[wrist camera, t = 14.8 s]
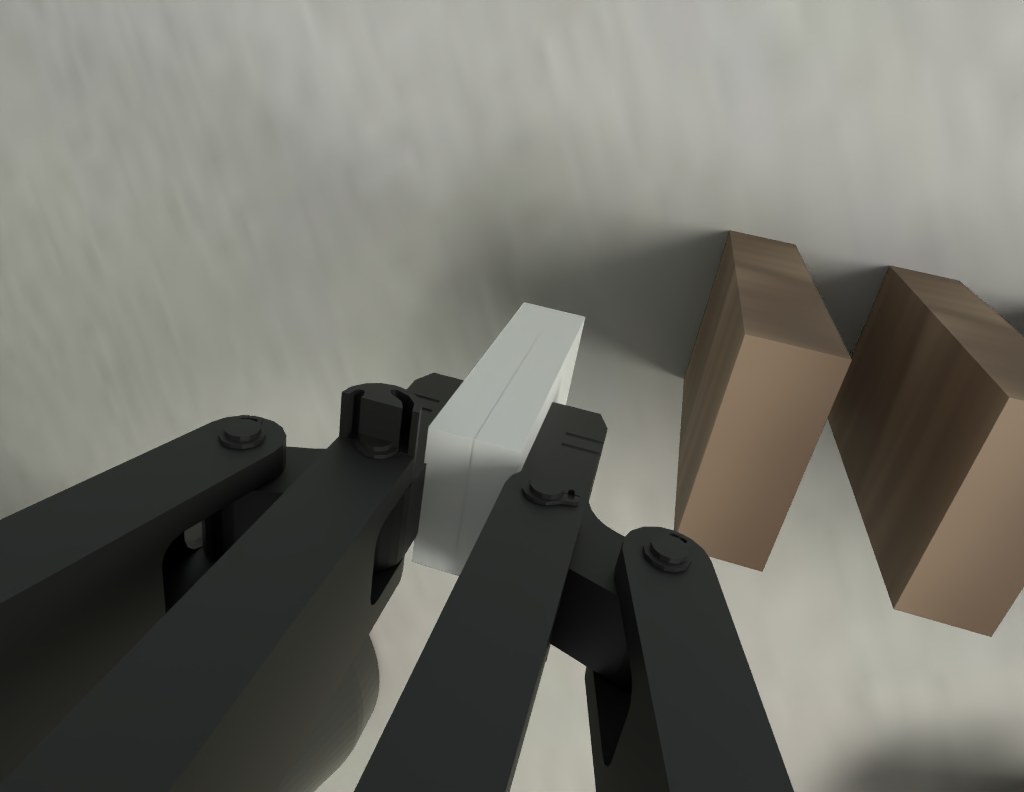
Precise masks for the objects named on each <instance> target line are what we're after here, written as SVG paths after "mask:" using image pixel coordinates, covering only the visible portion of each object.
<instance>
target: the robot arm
mask: <svg viewBox="0 0 1024 792" xmlns="http://www.w3.org/2000/svg"><path fill="white" fill-rule="evenodd" d="M584 321H585V317H584V316H580V315H575V314H571V313H567V312H563V311H559V310H555V309H550V308H546V307H542V306H538V305H534V304H530V303H525V302H524V303H523V304H522V305H521V307H520V308H519V309H518V311H517V312H516V313H515V314H514V316H513V317H512V318H511V320H510V321H509V322H508V324H507V325H506V326H505V328H504V329H503V330H502V331H501V333H500V334H499V335H498V337H497V338H496V339H495V341H494V342H493V343H492V345H491V346H490V347H489V348H488V350H487V351H486V352H485V354H484V355H483V356H482V358H481V359H480V360H479V362H478V363H477V364H476V365H475V367H474V368H473V369H472V371H471V372H470V373H469V375H468V376H467V377H466V379H465V380H464V381H463V380H460V379H456V378H452V377H448V376H444V375H440V374H437V373H432V374H429V375H427V376H424V377H422V378H419V379H417V380H415V381H414V382H413V383H412V384H411V385H410V386H409V388H408V389H407V390H406V389H404V388H401V387H398V386H395V385H389V384H383V383H365V384H361V385H356V386H352V387H350V388H348V389H346V390H345V391H343V392H342V398H341V415H340V432H339V437H338V438H337V439H336V440H335V441H334V442H333V443H332V444H331V445H330V446H329V447H328V448H327V449H311V448H298V447H286V434H285V432H284V430H283V428H282V427H281V426H279V425H278V424H277V423H275V422H274V421H271V420H268V419H265V418H261V417H257V416H250V415H240V416H234V417H226V418H223V419H220V420H217V421H213V422H211V423H209V424H207V425H204V426H202V427H200V428H198V429H196V430H194V431H191V432H189V433H187V434H185V435H183V436H181V437H179V438H176V439H174V440H172V441H170V442H168V443H166V444H163V445H161V446H159V447H157V448H155V449H153V450H150V451H148V452H146V453H144V454H142V455H140V456H137V457H135V458H133V459H131V460H129V461H127V462H124V463H122V464H120V465H118V466H116V467H114V468H111V469H109V470H107V471H105V472H103V473H101V474H98V475H96V476H94V477H92V478H90V479H88V480H85V481H83V482H81V483H79V484H77V485H75V486H73V487H70V488H68V489H66V490H64V491H62V492H60V493H57V494H55V495H53V496H51V497H49V498H47V499H44V500H42V501H40V502H38V503H36V504H34V505H31V506H29V507H27V508H25V509H23V510H21V511H18V512H16V513H14V514H12V515H10V516H8V517H5V518H3V519H1V520H0V792H314V791H315V790H316V789H317V788H318V787H319V786H320V785H321V784H322V783H323V782H324V781H325V780H326V779H327V778H328V777H330V776H331V775H332V774H333V773H334V772H335V771H336V770H337V769H338V768H339V767H340V766H341V765H342V764H343V762H344V761H345V760H346V759H347V757H348V756H349V754H350V753H351V752H352V750H353V749H354V747H355V745H356V743H357V741H358V739H359V738H360V736H361V734H362V732H363V730H364V728H365V726H366V724H367V722H368V720H369V718H370V716H371V714H372V712H373V710H374V707H375V705H376V701H377V697H378V692H379V669H378V662H377V658H376V654H375V650H374V647H373V644H372V641H371V639H370V636H369V633H370V631H371V630H372V628H373V626H374V624H375V623H376V621H377V619H378V618H379V616H380V614H381V613H382V611H383V609H384V607H385V606H386V604H387V602H388V601H389V599H390V597H391V596H392V594H393V592H394V590H395V589H396V587H397V585H398V584H399V582H400V579H401V576H402V572H403V565H404V556H405V553H406V552H407V550H408V549H409V547H410V545H411V544H412V542H413V540H414V539H415V540H414V548H413V556H412V562H415V563H418V564H421V565H425V566H428V567H431V568H435V569H438V570H441V571H445V572H448V573H451V574H454V575H458V576H459V578H458V580H457V582H456V584H455V586H454V588H453V590H452V592H451V594H450V596H449V598H448V600H447V602H446V604H445V606H444V608H443V610H442V612H441V615H440V617H439V619H438V621H437V623H436V625H435V627H434V629H433V631H432V633H431V635H430V637H429V639H428V641H427V643H426V645H425V647H424V649H423V651H422V653H421V655H420V657H419V660H418V662H417V664H416V666H415V668H414V670H413V672H412V674H411V676H410V678H409V680H408V682H407V684H406V686H405V688H404V690H403V692H402V694H401V696H400V698H399V700H398V703H397V705H396V707H395V709H394V711H393V713H392V715H391V717H390V719H389V721H388V723H387V725H386V727H385V729H384V731H383V733H382V735H381V737H380V739H379V741H378V743H377V745H376V748H375V750H374V752H373V754H372V756H371V758H370V760H369V762H368V764H367V766H366V768H365V770H364V772H363V774H362V776H361V778H360V780H359V782H358V784H357V786H356V788H355V791H354V792H510V788H511V785H512V781H513V777H514V774H515V770H516V766H517V763H518V759H519V756H520V752H521V748H522V745H523V741H524V737H525V734H526V730H527V727H528V723H529V719H530V716H531V712H532V708H533V705H534V701H535V697H536V694H537V690H538V687H539V683H540V679H541V676H542V672H543V668H544V665H545V662H546V660H547V656H548V652H549V648H550V644H552V645H553V646H555V647H557V648H558V649H560V650H561V651H563V652H565V653H566V654H568V655H569V656H571V657H573V658H574V659H576V660H577V661H579V662H581V663H582V664H584V665H585V666H586V672H585V685H586V695H587V705H588V715H589V725H590V735H591V745H592V755H593V765H594V775H595V785H596V792H794V790H793V788H792V785H791V782H790V779H789V776H788V774H787V771H786V768H785V765H784V762H783V760H782V757H781V754H780V751H779V748H778V746H777V743H776V740H775V737H774V735H773V732H772V729H771V726H770V723H769V721H768V718H767V715H766V712H765V709H764V707H763V704H762V701H761V698H760V695H759V693H758V690H757V687H756V684H755V681H754V679H753V676H752V673H751V670H750V668H749V665H748V662H747V659H746V656H745V654H744V651H743V648H742V645H741V642H740V640H739V637H738V634H737V631H736V628H735V626H734V623H733V620H732V617H731V614H730V612H729V609H728V606H727V603H726V601H725V598H724V595H723V592H722V589H721V587H720V584H719V581H718V578H717V575H716V573H715V570H714V567H713V564H712V561H711V560H710V558H709V557H708V555H707V553H706V552H705V550H704V549H703V548H702V547H701V546H699V545H698V544H697V543H696V542H695V541H693V540H692V539H691V538H689V537H687V536H685V535H683V534H681V533H679V532H677V531H673V530H670V529H666V528H662V527H641V528H638V529H635V530H632V531H630V532H629V533H628V534H627V535H626V537H624V536H622V535H620V534H619V533H617V532H615V531H613V530H612V529H610V528H609V527H607V526H606V525H604V524H603V523H602V522H601V521H600V520H599V519H598V518H597V517H596V516H595V514H594V513H593V512H592V510H591V507H590V504H589V498H590V495H591V491H592V487H593V483H594V480H595V476H596V472H597V468H598V464H599V460H600V456H601V452H602V448H603V444H604V441H605V437H606V433H607V427H606V424H605V422H604V420H603V418H602V416H601V414H598V413H594V412H590V411H586V410H582V409H578V408H575V407H571V406H567V405H566V402H567V398H568V393H569V389H570V384H571V380H572V375H573V371H574V366H575V362H576V357H577V353H578V348H579V344H580V339H581V335H582V330H583V326H584Z"/></svg>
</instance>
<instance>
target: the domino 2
mask: <svg viewBox="0 0 1024 792" xmlns="http://www.w3.org/2000/svg"><path fill="white" fill-rule="evenodd" d="M851 359H852V361H851V363H850V366H849V368H848V370H847V373H846V375H845V377H844V380H843V382H842V384H841V387H840V389H839V392H838V394H837V396H836V399H835V401H834V403H833V406H832V408H831V411H830V413H829V415H828V420H829V423H830V426H831V429H832V432H833V435H834V438H835V440H836V443H837V446H838V449H839V452H840V455H841V458H842V461H843V464H844V467H845V469H846V472H847V475H848V478H849V481H850V484H851V487H852V490H853V493H854V496H855V498H856V501H857V504H858V507H859V510H860V513H861V516H862V519H863V522H864V525H865V527H866V530H867V533H868V536H869V539H870V542H871V545H872V548H873V551H874V554H875V556H876V559H877V562H878V565H879V568H880V571H881V574H882V577H883V580H884V583H885V585H886V588H887V591H888V594H889V597H890V600H891V603H892V606H893V609H895V610H899V611H902V612H906V613H909V614H913V615H916V616H920V617H923V618H927V619H930V620H934V621H937V622H941V623H944V624H948V625H951V626H955V627H959V628H962V629H966V630H969V631H973V632H976V633H980V634H983V635H987V636H990V637H992V635H993V634H994V632H995V630H996V629H997V627H998V626H999V624H1000V623H1001V621H1002V620H1003V618H1004V617H1005V615H1006V613H1007V612H1008V610H1009V609H1010V607H1011V606H1012V604H1013V603H1014V601H1015V599H1016V598H1017V596H1018V595H1019V593H1020V592H1021V590H1022V589H1023V587H1024V336H1023V335H1022V334H1020V333H1019V332H1018V331H1017V330H1016V329H1015V328H1013V327H1012V326H1011V325H1010V324H1009V323H1008V322H1007V321H1005V320H1004V319H1003V318H1002V317H1001V316H1000V315H998V314H997V313H996V312H995V311H994V310H993V309H991V308H990V307H989V306H988V305H987V304H986V303H984V302H983V301H982V300H981V299H980V298H979V297H977V296H976V295H975V294H974V293H973V292H972V291H970V290H969V289H968V288H967V287H966V286H965V285H964V284H962V283H961V282H960V281H957V280H953V279H948V278H944V277H939V276H934V275H930V274H925V273H921V272H916V271H912V270H907V269H903V268H898V267H894V266H889V269H888V271H887V274H886V276H885V278H884V281H883V283H882V285H881V288H880V290H879V293H878V295H877V297H876V300H875V302H874V304H873V307H872V309H871V312H870V314H869V316H868V319H867V321H866V323H865V326H864V328H863V331H862V333H861V335H860V338H859V340H858V342H857V345H856V347H855V350H854V352H853V354H852V357H851Z"/></svg>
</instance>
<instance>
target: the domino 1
mask: <svg viewBox="0 0 1024 792" xmlns="http://www.w3.org/2000/svg"><path fill="white" fill-rule="evenodd" d="M851 361H852V359H851V357H850V355H849V353H848V351H847V349H846V347H845V345H844V343H843V341H842V339H841V337H840V335H839V333H838V330H837V328H836V326H835V324H834V322H833V320H832V318H831V316H830V314H829V312H828V310H827V308H826V306H825V304H824V302H823V300H822V298H821V296H820V294H819V292H818V290H817V288H816V286H815V284H814V282H813V280H812V278H811V276H810V274H809V272H808V270H807V268H806V265H805V263H804V261H803V259H802V257H801V255H800V253H799V251H798V249H797V247H796V245H794V244H789V243H785V242H780V241H775V240H771V239H766V238H762V237H757V236H753V235H748V234H744V233H739V232H735V231H730V232H729V235H728V238H727V242H726V245H725V248H724V251H723V255H722V258H721V261H720V264H719V268H718V271H717V274H716V277H715V281H714V284H713V287H712V290H711V294H710V297H709V300H708V303H707V306H706V310H705V313H704V316H703V319H702V323H701V326H700V329H699V332H698V336H697V339H696V342H695V345H694V349H693V352H692V355H691V358H690V362H689V365H688V368H687V371H686V375H685V378H684V387H683V402H682V417H681V432H680V447H679V462H678V477H677V491H676V506H675V521H674V531H677V532H679V533H681V534H683V535H685V536H687V537H689V538H691V539H692V540H693V541H695V542H696V543H697V544H698V545H699V546H701V547H702V548H703V549H704V550H705V552H706V553H707V555H708V556H709V557H713V558H716V559H720V560H723V561H727V562H730V563H734V564H737V565H741V566H744V567H748V568H751V569H755V570H758V571H762V572H763V569H764V567H765V564H766V562H767V560H768V557H769V555H770V553H771V550H772V548H773V546H774V543H775V541H776V538H777V536H778V534H779V531H780V529H781V527H782V524H783V522H784V519H785V517H786V515H787V512H788V510H789V508H790V505H791V503H792V501H793V498H794V496H795V493H796V491H797V489H798V486H799V484H800V482H801V479H802V477H803V474H804V472H805V470H806V467H807V465H808V463H809V460H810V458H811V456H812V453H813V451H814V448H815V446H816V444H817V441H818V439H819V437H820V434H821V432H822V429H823V427H824V425H825V422H826V420H827V418H828V415H829V413H830V411H831V408H832V406H833V403H834V401H835V399H836V396H837V394H838V392H839V389H840V387H841V384H842V382H843V380H844V377H845V375H846V373H847V370H848V368H849V366H850V363H851Z"/></svg>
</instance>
